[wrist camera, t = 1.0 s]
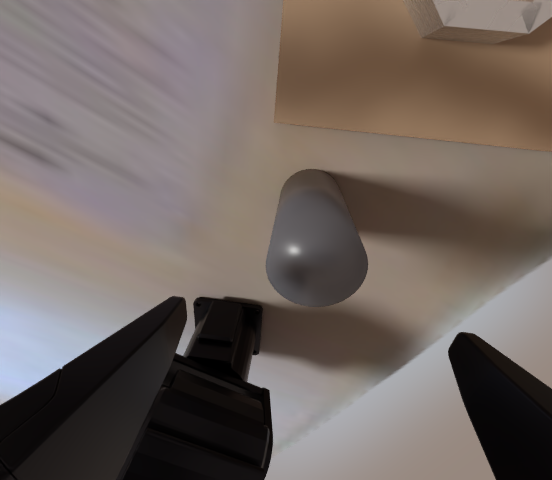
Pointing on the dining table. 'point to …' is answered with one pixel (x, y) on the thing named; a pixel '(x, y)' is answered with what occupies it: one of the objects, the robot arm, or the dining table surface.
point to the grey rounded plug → (314, 243)
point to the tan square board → (410, 77)
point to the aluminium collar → (477, 18)
